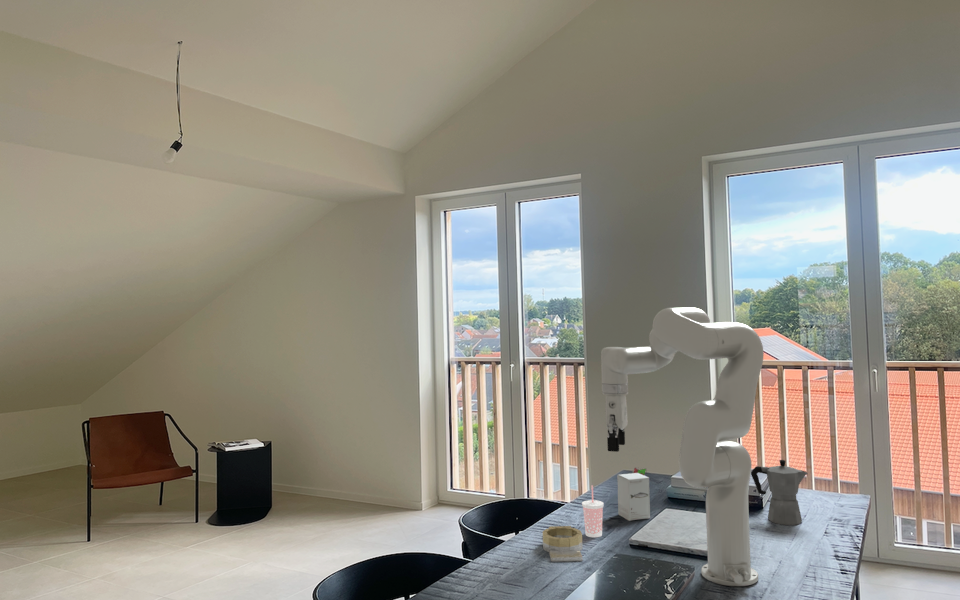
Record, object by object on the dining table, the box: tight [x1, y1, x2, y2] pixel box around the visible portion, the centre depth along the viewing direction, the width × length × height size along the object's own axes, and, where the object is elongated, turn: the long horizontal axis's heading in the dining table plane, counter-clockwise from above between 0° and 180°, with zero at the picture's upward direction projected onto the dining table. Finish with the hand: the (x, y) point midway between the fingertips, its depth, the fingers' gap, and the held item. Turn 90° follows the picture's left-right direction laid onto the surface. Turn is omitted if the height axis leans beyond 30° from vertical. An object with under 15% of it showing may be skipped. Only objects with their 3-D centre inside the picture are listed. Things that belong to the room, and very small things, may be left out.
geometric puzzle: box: [630, 467, 651, 480], centre depth 240 cm, size 7×7×8 cm
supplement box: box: [616, 473, 651, 522], centre depth 204 cm, size 7×7×13 cm
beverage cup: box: [581, 484, 604, 538], centre depth 188 cm, size 6×6×14 cm
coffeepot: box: [750, 459, 808, 526], centre depth 197 cm, size 15×9×18 cm, turn 67°
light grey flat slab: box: [542, 535, 584, 563], centre depth 176 cm, size 15×10×2 cm
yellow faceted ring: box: [542, 525, 583, 547], centre depth 181 cm, size 15×10×4 cm
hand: (616, 447), depth 193 cm, fingers open, 9 cm apart
